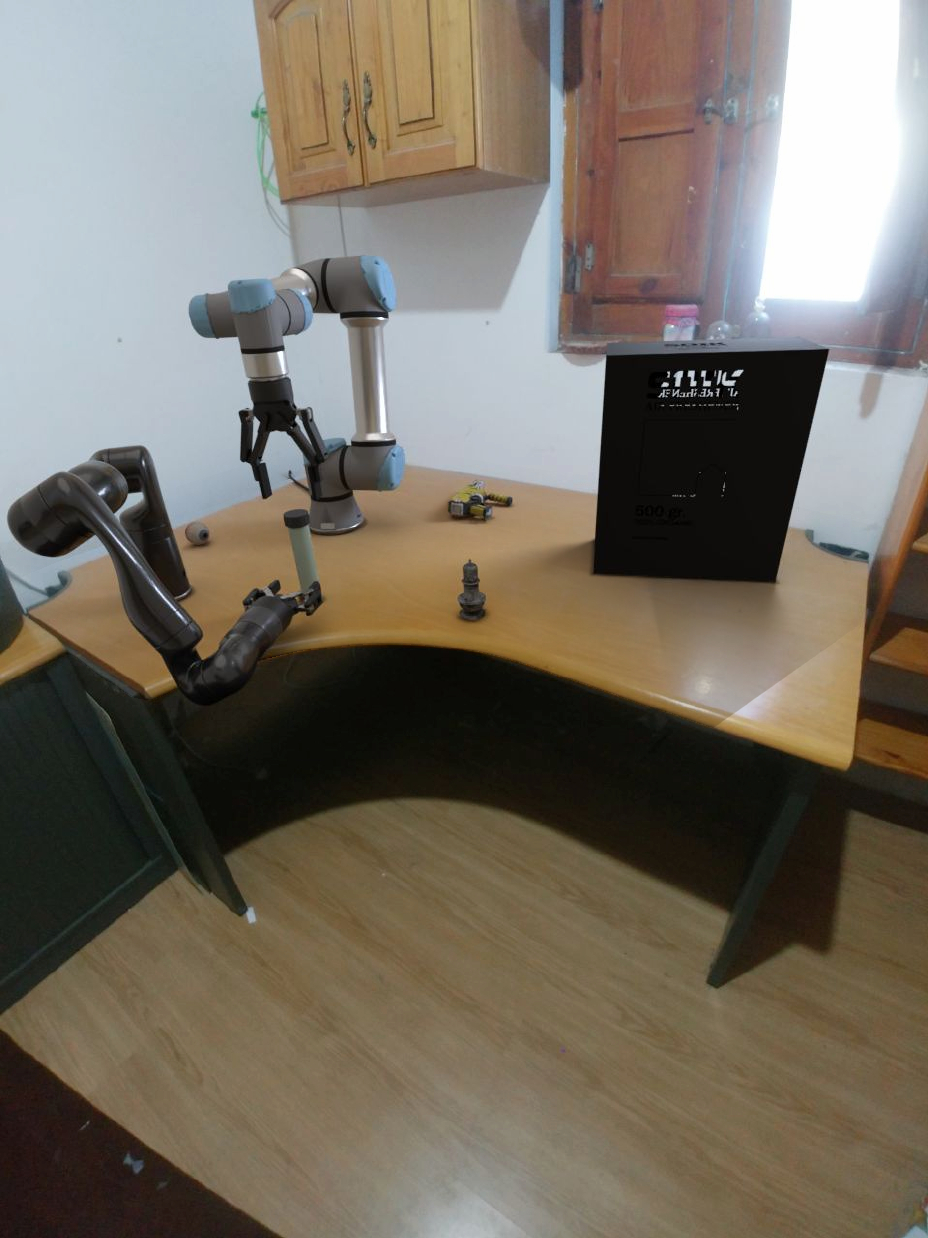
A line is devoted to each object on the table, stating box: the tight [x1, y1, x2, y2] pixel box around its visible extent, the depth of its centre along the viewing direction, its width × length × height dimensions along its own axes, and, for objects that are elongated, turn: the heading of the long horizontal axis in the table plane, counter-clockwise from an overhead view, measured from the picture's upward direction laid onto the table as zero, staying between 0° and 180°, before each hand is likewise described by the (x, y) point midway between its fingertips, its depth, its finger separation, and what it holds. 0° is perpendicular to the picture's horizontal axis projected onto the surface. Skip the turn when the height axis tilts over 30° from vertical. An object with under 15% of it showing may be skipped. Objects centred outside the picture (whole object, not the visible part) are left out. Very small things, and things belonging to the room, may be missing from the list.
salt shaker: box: [456, 558, 487, 621], centre depth 119 cm, size 6×6×12 cm
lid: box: [282, 508, 310, 529], centre depth 121 cm, size 5×5×2 cm
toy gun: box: [447, 479, 514, 521], centre depth 175 cm, size 5×24×15 cm
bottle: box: [287, 524, 324, 600], centre depth 126 cm, size 4×4×19 cm
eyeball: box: [184, 521, 211, 546], centre depth 161 cm, size 6×6×6 cm
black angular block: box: [592, 336, 830, 583], centre depth 128 cm, size 38×20×45 cm, turn 78°
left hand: (297, 584), depth 123 cm, fingers open, 8 cm apart
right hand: (292, 497), depth 119 cm, fingers open, 10 cm apart
